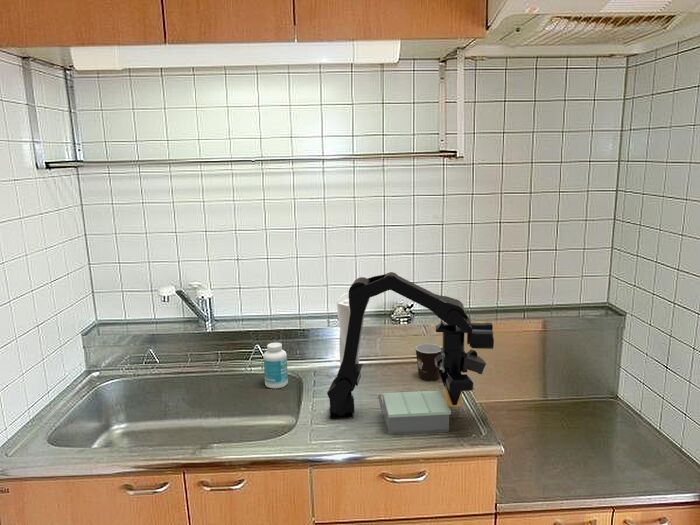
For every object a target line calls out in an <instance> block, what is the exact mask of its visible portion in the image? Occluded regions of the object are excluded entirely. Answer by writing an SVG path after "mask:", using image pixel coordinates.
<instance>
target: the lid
mask: <svg viewBox="0 0 700 525" xmlns="http://www.w3.org/2000/svg"><path fill="white" fill-rule="evenodd" d="M383 398H384V402H385V406H386V409H387V413H388V417H389V418H390V417H410V416H429V415H448V414H449V415H452V411H451V408H450V407H462V406H463V391H461V394H460V397H459V400H458V402H457V405H453V404H452V402H451V399H450V397H449V394H448V391H447V389H446V386H444V385H443V393H442V391H441V390H428V391H426V390H425V391H424V390H420V391H407V392H406V391H405V392H404V391H401V392H385V393H383V392H382V399H383Z"/></svg>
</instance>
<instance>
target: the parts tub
mask: <svg viewBox="0 0 700 525" xmlns="http://www.w3.org/2000/svg"><path fill="white" fill-rule="evenodd" d="M377 399H378V401H379V406H380V410H381V414H382V416H383V418H384V422H385V425H386V429H387V433H388V435H389V436H393V435H394V436H395V435H396V436H397V435H409V434H411V435H412V434H429V433H447V432H450V414H448V415H429V416H410V417H390V418H389V417H388V413H387V409H386V406H385V402H384V398H383V397H382V396H381V394H378V395H377Z"/></svg>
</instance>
